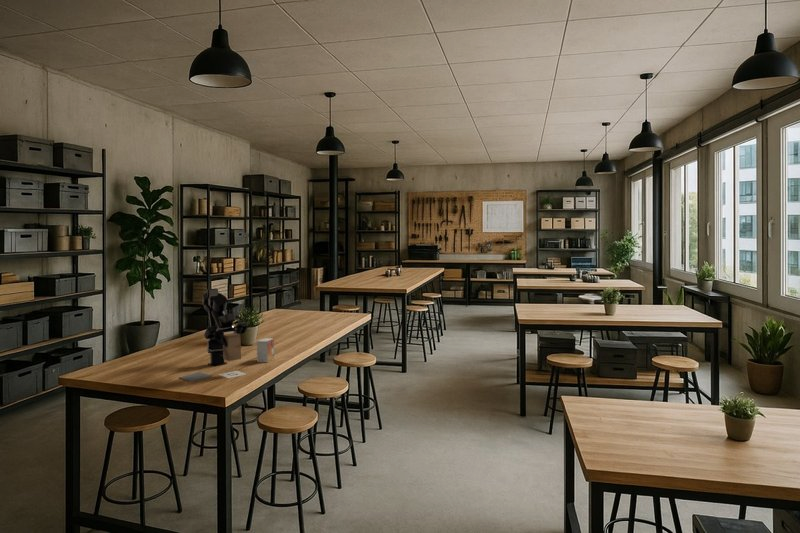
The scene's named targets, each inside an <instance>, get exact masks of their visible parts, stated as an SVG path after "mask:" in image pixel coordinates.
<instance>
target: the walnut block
mask: <svg viewBox="0 0 800 533" xmlns="http://www.w3.org/2000/svg"><path fill="white" fill-rule="evenodd" d="M223 336H224V338H225V340H226V342H227V345H228V346H227V347H225V346H224V345H223V359H224V361H226V362H227V361H228V362H232V361H233V362H234V361H237V360H241V359H242V349H241V348H242V345H241V334H237V333H234V332H232V333H231V332H229V333H224V335H223Z"/></svg>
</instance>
